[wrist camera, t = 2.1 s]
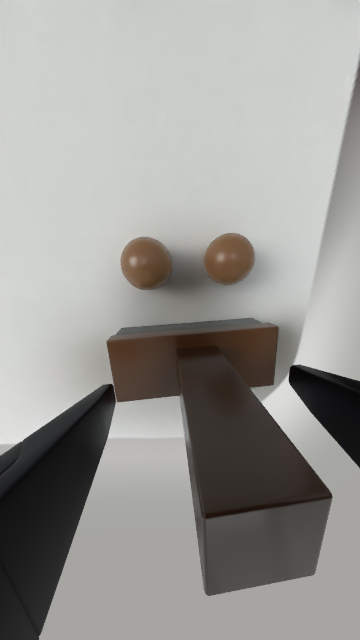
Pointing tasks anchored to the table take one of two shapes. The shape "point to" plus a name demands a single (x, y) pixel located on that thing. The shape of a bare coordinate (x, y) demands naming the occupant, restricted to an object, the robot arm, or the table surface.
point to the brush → (230, 447)
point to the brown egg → (146, 263)
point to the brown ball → (229, 259)
